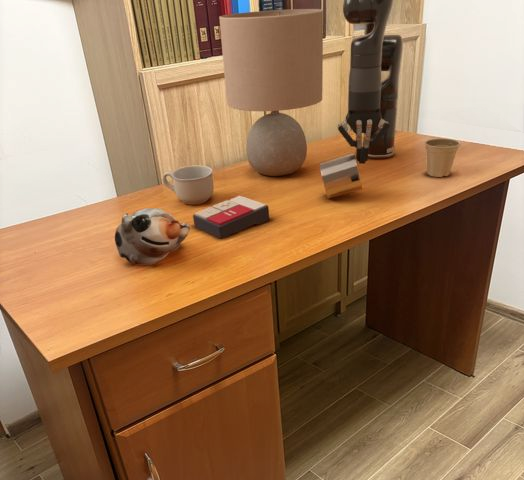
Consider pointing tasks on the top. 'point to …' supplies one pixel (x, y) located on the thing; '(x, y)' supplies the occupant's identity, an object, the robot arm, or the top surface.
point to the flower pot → (440, 156)
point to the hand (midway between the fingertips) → (361, 162)
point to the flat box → (231, 216)
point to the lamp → (273, 80)
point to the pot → (340, 175)
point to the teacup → (191, 183)
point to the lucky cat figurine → (149, 236)
